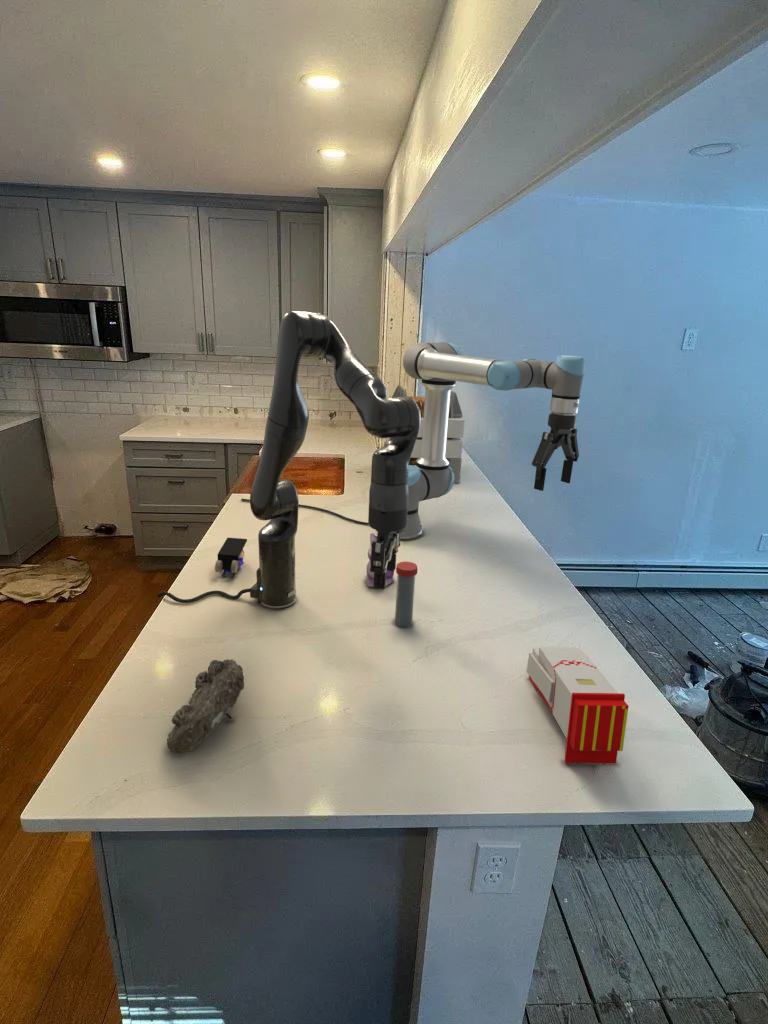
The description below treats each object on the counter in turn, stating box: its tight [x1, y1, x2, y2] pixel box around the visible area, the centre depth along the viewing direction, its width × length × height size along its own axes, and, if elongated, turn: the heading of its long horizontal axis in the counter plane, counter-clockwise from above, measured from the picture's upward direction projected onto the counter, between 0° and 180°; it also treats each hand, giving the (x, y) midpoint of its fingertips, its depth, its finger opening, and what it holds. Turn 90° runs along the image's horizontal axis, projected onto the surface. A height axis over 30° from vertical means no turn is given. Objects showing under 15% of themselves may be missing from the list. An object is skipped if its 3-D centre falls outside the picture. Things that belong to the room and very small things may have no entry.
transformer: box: [383, 384, 465, 484], centre depth 268 cm, size 34×33×41 cm
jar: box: [394, 573, 416, 628], centre depth 141 cm, size 4×4×15 cm
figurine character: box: [214, 537, 248, 578], centre depth 166 cm, size 7×8×15 cm
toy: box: [526, 646, 629, 765], centre depth 112 cm, size 12×13×30 cm
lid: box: [395, 561, 418, 577], centre depth 139 cm, size 5×5×2 cm
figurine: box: [365, 532, 395, 588], centre depth 162 cm, size 9×10×15 cm
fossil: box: [166, 658, 245, 754], centre depth 106 cm, size 22×10×15 cm
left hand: (384, 578), depth 114 cm, fingers open, 8 cm apart
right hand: (552, 485), depth 166 cm, fingers open, 13 cm apart
